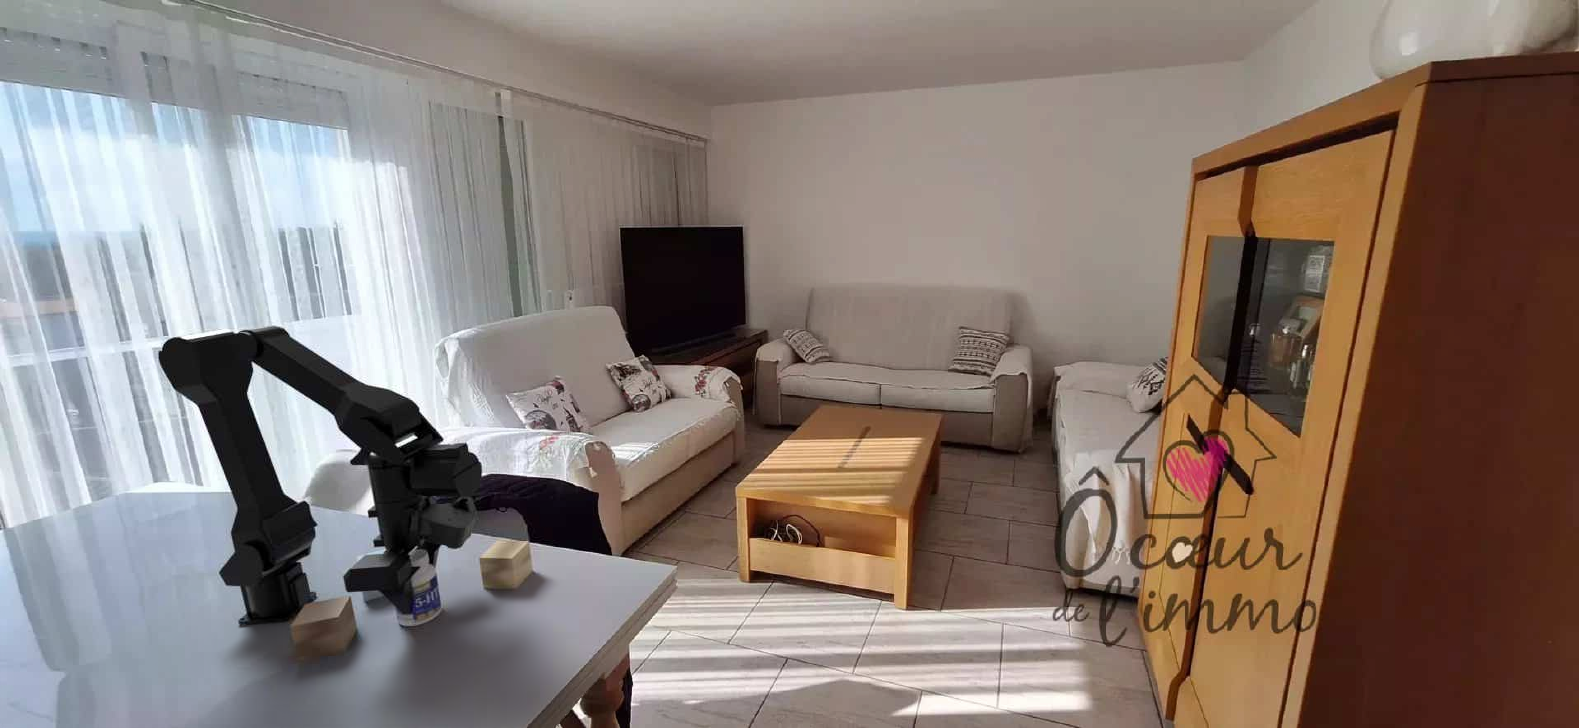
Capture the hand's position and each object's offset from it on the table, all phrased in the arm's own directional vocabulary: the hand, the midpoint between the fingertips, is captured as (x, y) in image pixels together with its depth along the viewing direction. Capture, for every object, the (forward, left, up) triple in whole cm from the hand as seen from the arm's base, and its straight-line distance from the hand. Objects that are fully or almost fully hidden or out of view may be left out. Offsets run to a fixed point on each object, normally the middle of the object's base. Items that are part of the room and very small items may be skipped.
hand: (418, 600), depth 86 cm
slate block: (-9, +8, -2) cm, 12 cm away
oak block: (+9, +8, -2) cm, 12 cm away
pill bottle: (0, 0, -2) cm, 2 cm away
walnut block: (-9, -5, -2) cm, 11 cm away
